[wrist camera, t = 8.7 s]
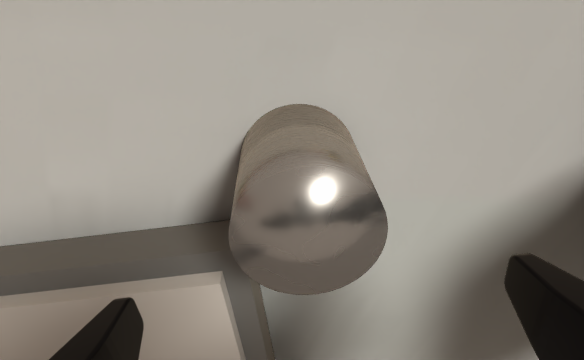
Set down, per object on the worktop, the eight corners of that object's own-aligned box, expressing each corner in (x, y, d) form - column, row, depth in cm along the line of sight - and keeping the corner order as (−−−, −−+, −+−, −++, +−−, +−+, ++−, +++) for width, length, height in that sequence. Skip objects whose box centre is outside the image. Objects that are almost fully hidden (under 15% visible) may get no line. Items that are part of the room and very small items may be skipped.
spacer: (353, 97, 14) (389, 157, 10) (355, 199, 16) (386, 285, 12) (231, 111, 14) (213, 178, 10) (250, 211, 16) (243, 302, 12)
